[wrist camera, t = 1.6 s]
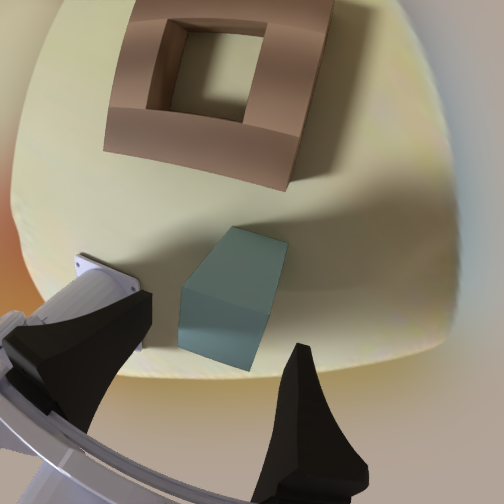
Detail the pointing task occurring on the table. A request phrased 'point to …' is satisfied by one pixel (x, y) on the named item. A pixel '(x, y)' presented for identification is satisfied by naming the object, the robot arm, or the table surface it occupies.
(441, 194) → the table surface
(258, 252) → the bracket post
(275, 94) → the well block
